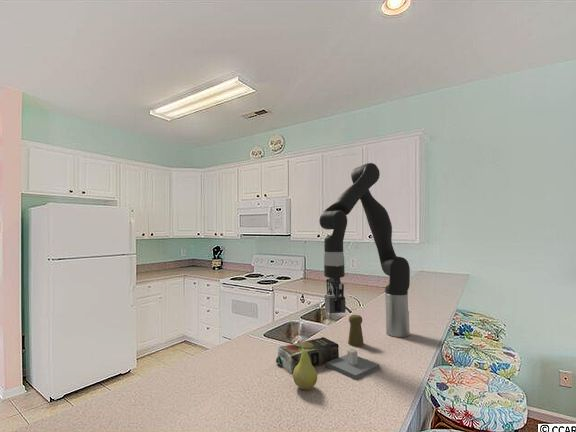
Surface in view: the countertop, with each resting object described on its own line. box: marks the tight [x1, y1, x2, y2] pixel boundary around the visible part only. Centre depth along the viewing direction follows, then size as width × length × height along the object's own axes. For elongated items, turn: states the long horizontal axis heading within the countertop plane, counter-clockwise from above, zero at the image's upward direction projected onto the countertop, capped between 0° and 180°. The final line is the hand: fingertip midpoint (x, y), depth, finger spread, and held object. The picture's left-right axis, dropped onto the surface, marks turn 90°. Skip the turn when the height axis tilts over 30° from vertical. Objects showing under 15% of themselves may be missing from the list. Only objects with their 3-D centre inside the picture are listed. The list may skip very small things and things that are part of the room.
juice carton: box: [275, 336, 340, 374], centre depth 104 cm, size 20×10×6 cm, turn 120°
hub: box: [325, 348, 380, 380], centre depth 99 cm, size 12×12×5 cm
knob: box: [324, 294, 347, 314], centre depth 114 cm, size 6×6×6 cm
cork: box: [347, 314, 365, 348], centre depth 121 cm, size 6×6×11 cm
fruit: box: [292, 340, 318, 391], centre depth 86 cm, size 7×8×12 cm
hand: (335, 309), depth 114 cm, fingers closed on knob, 6 cm apart
